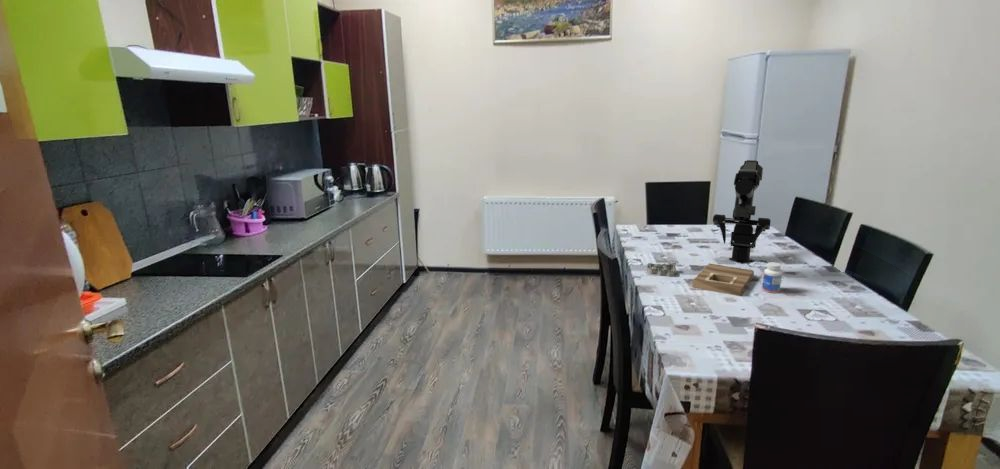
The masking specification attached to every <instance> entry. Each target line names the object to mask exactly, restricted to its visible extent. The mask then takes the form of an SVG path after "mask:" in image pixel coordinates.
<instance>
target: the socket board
mask: <svg viewBox="0 0 1000 469" xmlns="http://www.w3.org/2000/svg"><path fill="white" fill-rule="evenodd" d="M754 273H755V270H752V269H747V268H741V267H733V266H728V265H720V264H716V263H708V264H707V265H706V266H705V267H704V268H703V269H702V270H701V271H700V272H699V273H698V274H697V275H696V277H694V278H693V279H692V284H691V286H692V288H696V289H701V290H706V291H712V292H716V293H721V294H726V295H727V294H728V295H732V296H737V297H742V295H743V294H744V292H745V290H746V289H747V287H748V286H749V284H750V283H751V281H752V280H753V278H754V275H755V274H754Z"/></svg>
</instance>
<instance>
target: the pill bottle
mask: <svg viewBox="0 0 1000 469" xmlns="http://www.w3.org/2000/svg"><path fill="white" fill-rule="evenodd" d="M780 269H781V263H779V262H772V261H771V262H767V265H766V268H765V269H764V270H763V279H762V286H761V288H762V291H764V292H766V293H770V294H777V293H779V292H780V289H781V283H782V274H783V272H782V270H780Z"/></svg>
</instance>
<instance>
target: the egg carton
mask: <svg viewBox="0 0 1000 469" xmlns="http://www.w3.org/2000/svg"><path fill="white" fill-rule="evenodd" d="M676 266H677V262H674V261H673V262H668V263H653V262H649V263H647V264H646V273H647V274H648V275H657V276H660V277H661V276H666V277H669V278H670V277H674V276H675V274H676V270H677V268H676Z"/></svg>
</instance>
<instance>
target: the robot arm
mask: <svg viewBox="0 0 1000 469" xmlns="http://www.w3.org/2000/svg"><path fill="white" fill-rule="evenodd" d="M763 170H764V168H763V166H762V165H760V164H759V160H754V159H753V160H751V159H750V160H749V159H747V160H744V163H743V164H742V165H741V166H740V167H739V170H738V171H737V173H735V177H734V181H733V186H734V190H735V202H734V208H733V210H732V218H731V217H726V214H716V213H715V214H714V215H713V217H712V224H713V225H714V226H716V227H717V228H719V229H720V232H721V235H722V240H723V244H726V240H727V239H726V238H727V234H726V233H727V232H726V230H727V228H726V227H727V226H726V224H731V225H732V224H733V225H734V224H735V225H734V227H733V231H731V234H730V247H733V248H732V252H731V256H730V257H729V258H728V259H729V260H731V261H734V262H736V263H739V264H745V263H749V262H753V259H752V258H750V257H751V250H752V249H754V248H756V244H757V240H758V239H759V236H760V235H761V234H762V232H763V233H764V232H766V230H767V231H768V230H770V229H771V219H770V218H767V217H758V218H757V219H752V216H755V215H756V207H757V206H756V205H754V204H753V203H754V195H755V191H756V190H757V189H758V187H759V186H760V182H761V181H762V180H763V174H764V172H763ZM753 226H754V227H755V230H754V227H753Z"/></svg>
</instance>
